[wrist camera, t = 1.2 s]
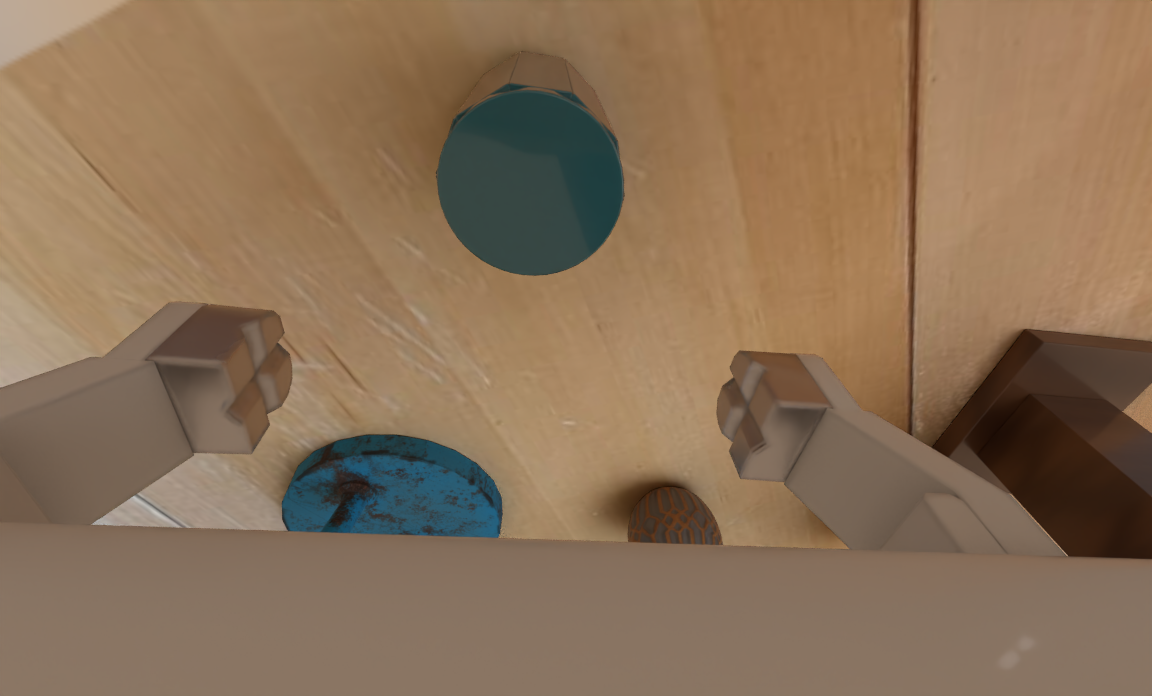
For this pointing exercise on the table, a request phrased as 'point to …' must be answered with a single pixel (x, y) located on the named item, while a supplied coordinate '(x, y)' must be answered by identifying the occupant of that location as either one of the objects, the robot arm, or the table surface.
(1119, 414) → the rack
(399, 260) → the table surface
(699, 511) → the vase
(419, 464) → the desk lamp
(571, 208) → the teal piece
